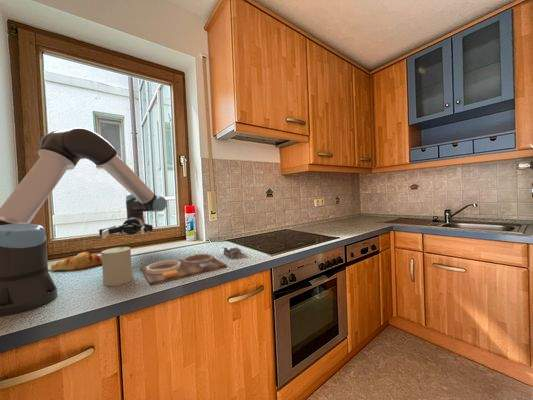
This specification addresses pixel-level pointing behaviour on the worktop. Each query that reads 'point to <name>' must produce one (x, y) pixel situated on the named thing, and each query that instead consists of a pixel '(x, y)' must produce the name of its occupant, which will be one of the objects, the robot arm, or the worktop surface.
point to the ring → (164, 272)
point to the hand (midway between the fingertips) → (123, 233)
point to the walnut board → (185, 268)
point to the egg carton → (232, 253)
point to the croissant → (78, 262)
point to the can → (116, 266)
